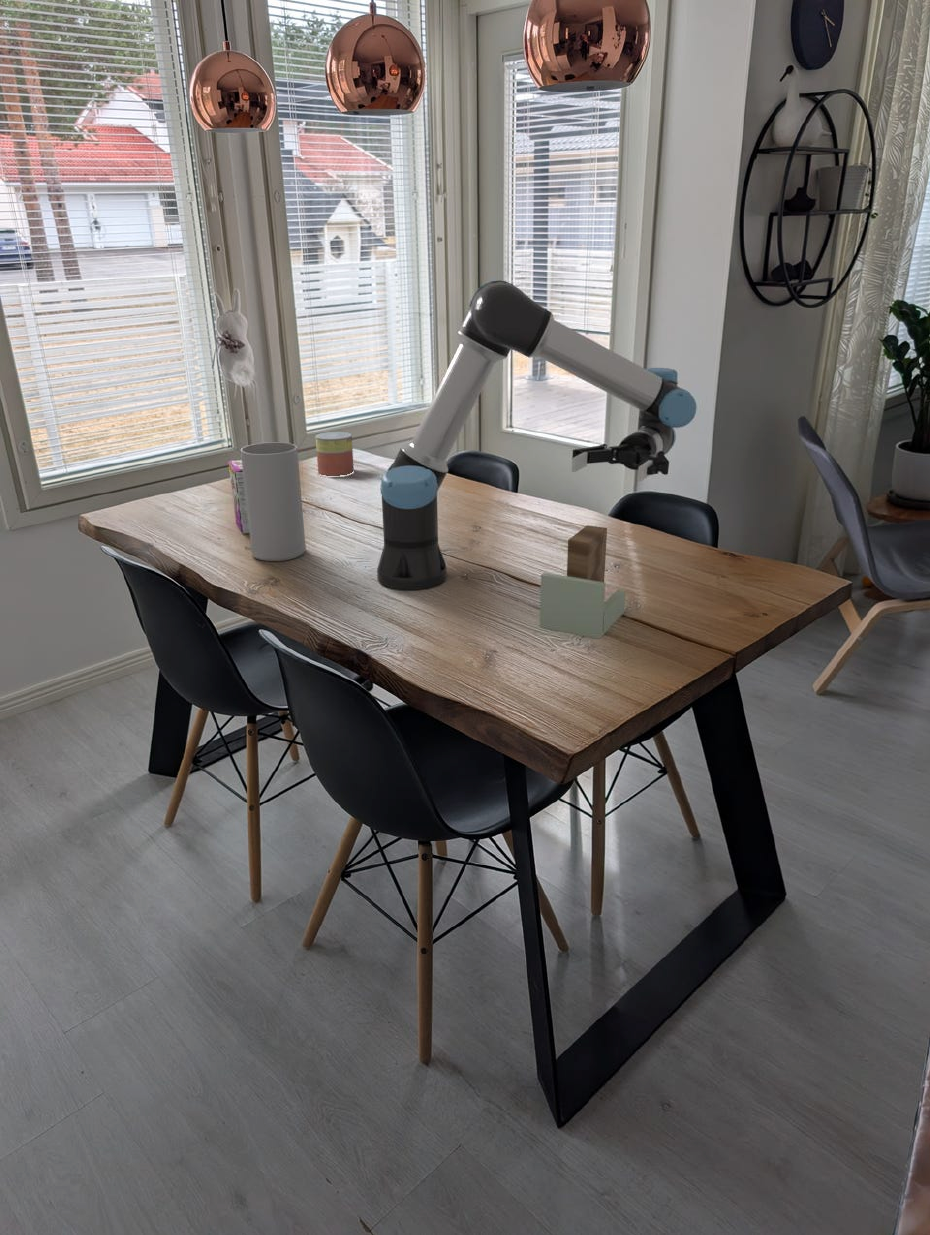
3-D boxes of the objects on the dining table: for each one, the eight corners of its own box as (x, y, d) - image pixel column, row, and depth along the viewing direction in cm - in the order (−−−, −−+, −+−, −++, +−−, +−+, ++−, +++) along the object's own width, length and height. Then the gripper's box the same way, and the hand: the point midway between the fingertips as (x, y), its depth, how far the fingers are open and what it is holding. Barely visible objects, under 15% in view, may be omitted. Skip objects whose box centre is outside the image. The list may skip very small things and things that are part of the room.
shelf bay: (599, 638, 167) (602, 585, 163) (539, 627, 172) (540, 575, 168) (627, 609, 180) (630, 558, 176) (570, 599, 185) (572, 549, 181)
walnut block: (585, 613, 170) (588, 542, 165) (565, 610, 172) (568, 539, 166) (603, 596, 178) (607, 527, 173) (584, 592, 180) (587, 525, 174)
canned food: (360, 474, 282) (357, 436, 277) (326, 479, 277) (323, 440, 272) (345, 467, 291) (343, 430, 286) (312, 472, 286) (309, 434, 281)
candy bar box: (234, 522, 237) (227, 460, 230) (253, 520, 238) (247, 459, 232) (241, 535, 227) (234, 470, 221) (261, 532, 229) (254, 468, 222)
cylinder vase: (241, 553, 214) (229, 448, 204) (286, 541, 222) (276, 439, 212) (271, 566, 205) (260, 457, 196) (316, 553, 213) (308, 447, 204)
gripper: (695, 473, 190) (666, 497, 173) (584, 459, 201) (546, 480, 183) (700, 438, 187) (670, 458, 170) (586, 425, 198) (548, 443, 180)
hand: (606, 469), depth 176 cm, fingers open, 13 cm apart
